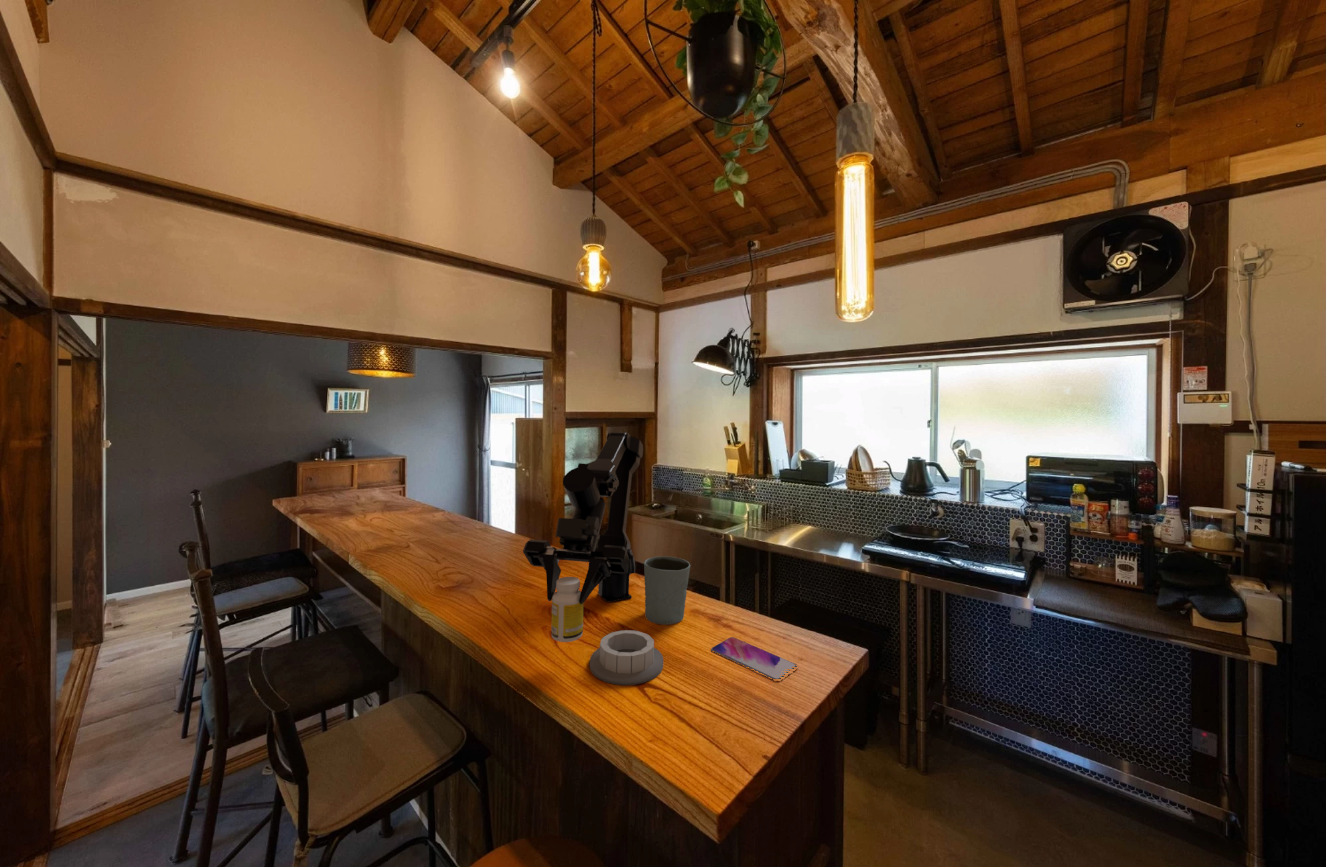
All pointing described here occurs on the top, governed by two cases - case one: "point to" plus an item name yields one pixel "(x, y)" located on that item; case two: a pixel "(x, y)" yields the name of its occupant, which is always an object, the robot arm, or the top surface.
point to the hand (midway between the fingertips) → (564, 601)
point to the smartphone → (753, 657)
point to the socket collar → (626, 658)
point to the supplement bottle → (567, 610)
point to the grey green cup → (665, 589)
